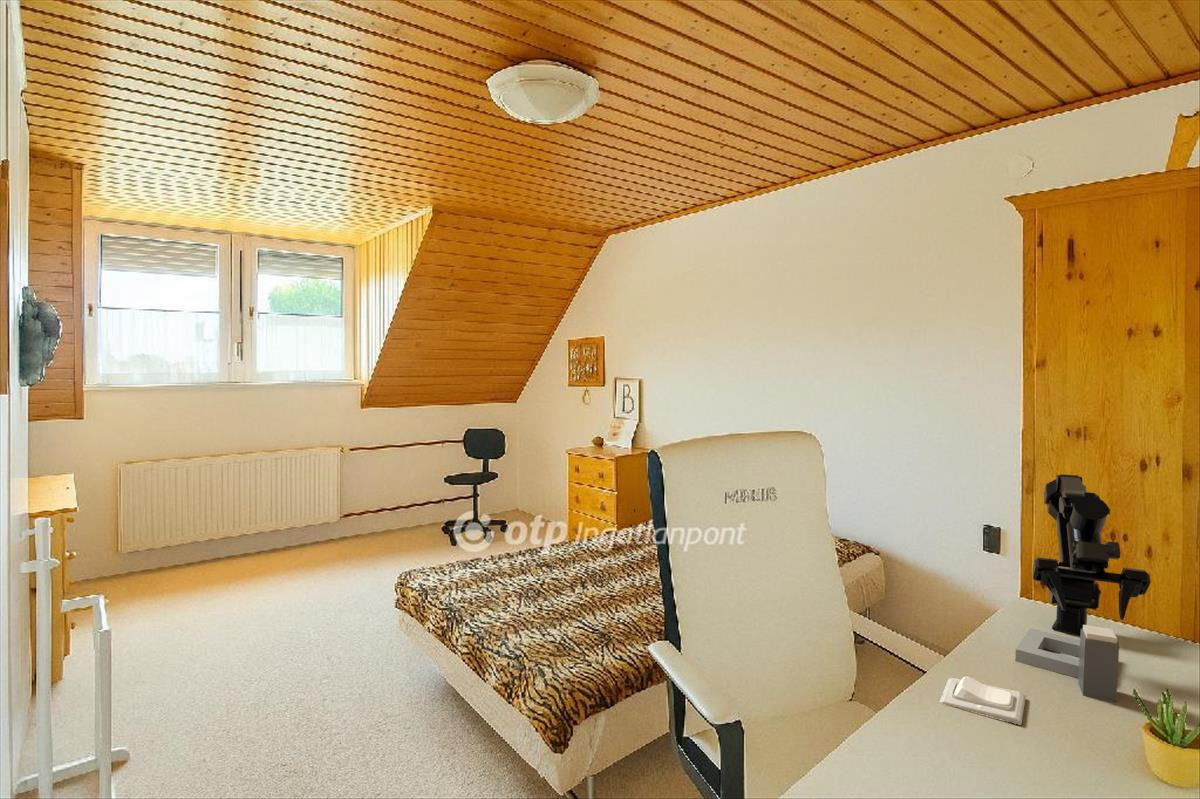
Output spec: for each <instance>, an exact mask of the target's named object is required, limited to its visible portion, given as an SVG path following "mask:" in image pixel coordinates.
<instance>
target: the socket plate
mask: <svg viewBox="0 0 1200 799" xmlns="http://www.w3.org/2000/svg"><path fill="white" fill-rule="evenodd" d="M1044 649H1046V650H1044ZM1049 649H1051V650H1050V651H1051V652H1050V651H1047V650H1049ZM1053 650H1054V652H1052V651H1053ZM1057 651H1058V652H1057ZM1056 652H1057V653H1056ZM1061 652H1063V653H1062V654H1059V653H1061ZM1065 653H1066V654H1065ZM1063 654H1065V655H1063ZM1069 654H1070V655H1069ZM1066 655H1069V656H1072V655H1073V656H1074V657H1077V658H1074V657H1069V656H1066ZM1079 656H1080V639H1077V638H1071V637H1069V636H1064V635H1060V634H1057V633H1054V632H1053V633H1052V632H1048V631H1044V630H1040V629H1036V628H1032V627H1029V628H1028V630H1027V631H1026V632H1025V635H1024V636H1023V638H1022V639H1021V641H1020V642H1019V643H1018V645H1017V647H1016V648H1015V659H1014V660H1015V662H1019V663H1022V664H1026V665H1030V666H1033V667H1037V668H1040V669H1045V670H1047V671H1050V672H1051V671H1052V672H1053V673H1054V672H1055V673H1057V674H1058V673H1059V674H1062V675H1065V676H1068V677H1072V678H1077V679H1079Z"/></svg>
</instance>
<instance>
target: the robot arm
mask: <svg viewBox="0 0 1200 799" xmlns="http://www.w3.org/2000/svg"><path fill="white" fill-rule="evenodd" d="M1043 503H1044V505H1046V507H1047V514H1049V515H1050V517H1051V518H1053V519H1054V520H1055V524H1056V532H1057V533H1056V534H1057V543H1058V551H1059V552H1058V554H1059V561H1058V559H1056V558H1055V559H1054V558H1047V557H1036V558H1035V559H1034V561H1033V566H1032V580H1034V581H1035V582H1040V585H1042V586H1045V587H1047V589H1048V593H1049V596H1048V597H1049V600H1050V602H1051V604H1056V616H1055V617H1056V618H1055V621H1054V623H1052V625H1051V626H1052V627H1051V629H1052V630H1054V631H1058V632H1062V633H1067V634H1071V635H1075V636H1080V633H1081V629H1083V625H1088V610H1089V609H1090V610H1094V611H1097V609H1099V604H1100V599H1101V596H1102V595H1101V594H1102V590H1101V589H1100V588H1099V585H1098V583H1097V582H1103V583H1112V584H1118V586H1119V591H1118V615H1119V619H1120V620H1122V621H1124V618H1125V615H1126V613H1127V609H1128V606H1129V603H1130V600H1131V598H1138V597H1139V595H1140V596H1141V595H1142V596H1143V595H1146V593H1147V591H1148V590H1149V587H1150V585H1151V584H1152V580H1151V575H1150V573H1148V571H1146V570H1145V569H1140V568H1139V569H1138V568H1130V567H1122V569H1121V573H1116V572H1109V571H1108V572H1107V571H1106V569H1109V561H1110V560H1119V559H1120V558H1121V546H1120V542H1118V541H1115V542H1114V541H1107V542H1106V543H1103V541H1102V533H1101V532H1102V531H1103V530H1104V527H1105V525H1106V522H1107V518H1108V515H1110V514H1111V509H1110V508H1109V506H1108V504H1107V503H1106V502H1105V501H1104V500H1103V499H1101V497H1100V495H1099V494H1097V493H1095V492H1091V491H1088V489H1087V486H1086V485H1085V484H1084V483H1083V476H1080V475H1078V474H1077V475H1076V474H1064V473H1060V474H1057V475H1056V476H1055V479H1053V480H1051V481H1050V482H1047V483H1046V484H1045V487H1044V491H1043ZM1095 581H1097V582H1095Z"/></svg>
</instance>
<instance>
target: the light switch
mask: <svg viewBox="0 0 1200 799" xmlns="http://www.w3.org/2000/svg"><path fill="white" fill-rule="evenodd" d="M945 684H946V685H945V687H944V690H943V692H942V694H943V695H942V694H941V697H940V699H939V702H940V703H939V704H941V703H943V704H942V705H944V704H946V705H945V706H948V705H950V706H949V707H951V706H954V707H953V708H955V707H958V708H960V709H959V710H962V709H965V710H969V711H973V712H977V713H980V714H984V715H988V716H991V717H994V718H997V719H1002V720H1005V721H1008V722H1012V723H1014V724H1013V725H1016V724H1018V725H1017V726H1022V724H1023V717H1024V711H1025V705H1026V695H1025V694H1024V693H1022V692H1021V691H1017V690H1012V689H1008V688H1002V687H998V686H994V685H988V684H984V683H981V682H979V681H977V680H976V679H974V678H972V677H969V676H967V675H966V676H963V677H962V678H961V679H959V678H956V677H955V678H954V677H951V678H948V679H947V682H946V683H945ZM958 708H957V709H958ZM961 708H962V709H961ZM965 710H964V711H965ZM969 711H968V712H969ZM997 719H996V720H997ZM1008 722H1007V723H1008ZM1012 723H1011V724H1012Z"/></svg>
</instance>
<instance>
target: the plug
mask: <svg viewBox="0 0 1200 799" xmlns="http://www.w3.org/2000/svg"><path fill="white" fill-rule="evenodd" d="M1079 638H1080V639H1079V640H1080V656H1079V657H1078V660H1079V678H1077V679H1078V680H1077V682H1078V686H1079V688H1080V691H1081V695H1082V694H1083V695H1082V696H1085V697H1089V698H1095V699H1098V700H1099V699H1100V700H1104V701H1110V702H1112V703H1113V702H1114V703H1117V701H1118V700H1117V698H1118V696H1117V695H1118V681H1119V680H1118V678H1119V676H1118V673H1119V655H1120V654H1119V653H1120V643H1119V642H1118V638H1117V636H1116V634H1115V632H1114V630H1113V628H1107V627H1101V626H1095V625H1090V624H1087V625H1083V629H1081V633H1080V637H1079Z"/></svg>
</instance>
